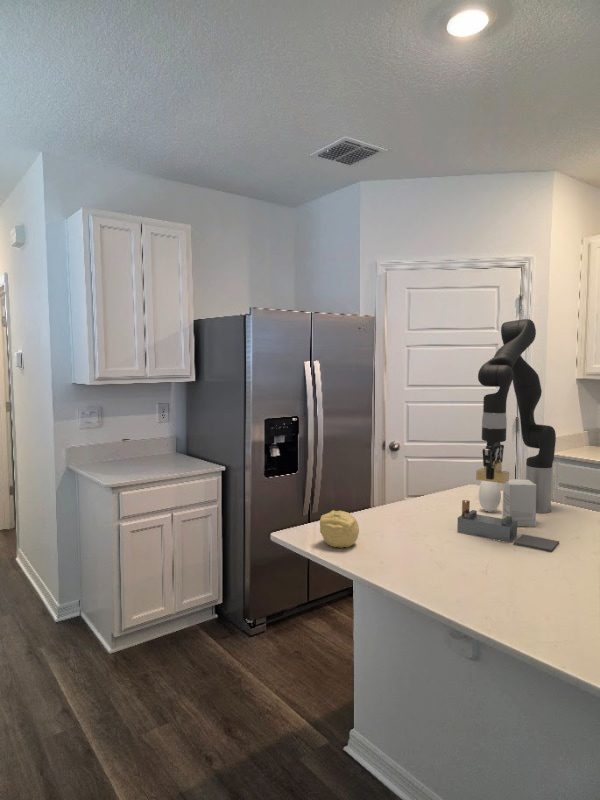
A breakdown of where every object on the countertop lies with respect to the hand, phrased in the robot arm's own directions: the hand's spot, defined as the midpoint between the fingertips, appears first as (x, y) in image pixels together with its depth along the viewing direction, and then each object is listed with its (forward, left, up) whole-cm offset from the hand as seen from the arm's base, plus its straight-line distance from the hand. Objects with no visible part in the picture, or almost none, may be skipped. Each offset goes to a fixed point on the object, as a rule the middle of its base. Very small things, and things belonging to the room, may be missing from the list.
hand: (492, 477), depth 173 cm
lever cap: (0, 0, -1) cm, 1 cm away
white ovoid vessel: (-28, -10, -19) cm, 35 cm away
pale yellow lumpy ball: (+39, -34, -19) cm, 55 cm away
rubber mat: (0, +14, -19) cm, 24 cm away
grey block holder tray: (0, -1, -19) cm, 19 cm away
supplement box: (-20, +3, -19) cm, 28 cm away
